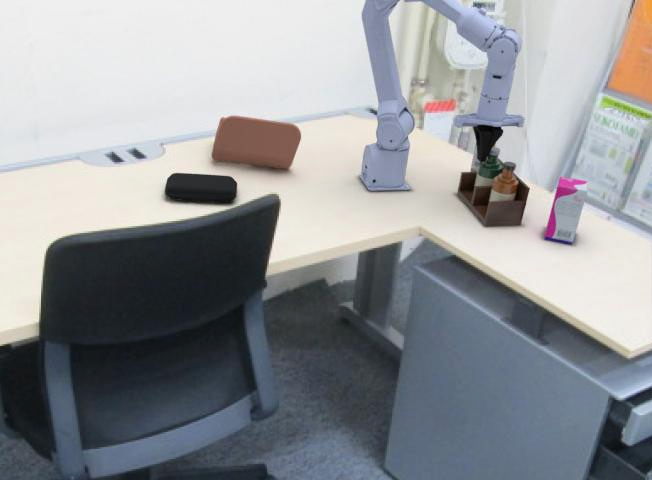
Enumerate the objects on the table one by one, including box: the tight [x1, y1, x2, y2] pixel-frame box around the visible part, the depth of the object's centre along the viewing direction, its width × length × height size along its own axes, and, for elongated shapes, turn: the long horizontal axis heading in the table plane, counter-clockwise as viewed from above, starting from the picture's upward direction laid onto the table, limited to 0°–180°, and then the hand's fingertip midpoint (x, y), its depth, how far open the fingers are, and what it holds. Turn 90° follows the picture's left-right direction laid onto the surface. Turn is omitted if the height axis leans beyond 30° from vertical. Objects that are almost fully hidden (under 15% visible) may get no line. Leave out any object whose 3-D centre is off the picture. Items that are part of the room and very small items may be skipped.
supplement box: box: [543, 176, 589, 245], centre depth 178 cm, size 6×6×12 cm
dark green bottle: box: [473, 146, 503, 192], centre depth 189 cm, size 5×5×10 cm
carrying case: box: [164, 172, 238, 204], centre depth 185 cm, size 11×3×15 cm
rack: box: [456, 157, 531, 227], centre depth 187 cm, size 8×16×8 cm, turn 12°
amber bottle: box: [487, 161, 519, 208], centre depth 183 cm, size 5×5×10 cm
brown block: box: [211, 115, 302, 170], centre depth 200 cm, size 16×17×15 cm
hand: (481, 160), depth 187 cm, fingers closed
